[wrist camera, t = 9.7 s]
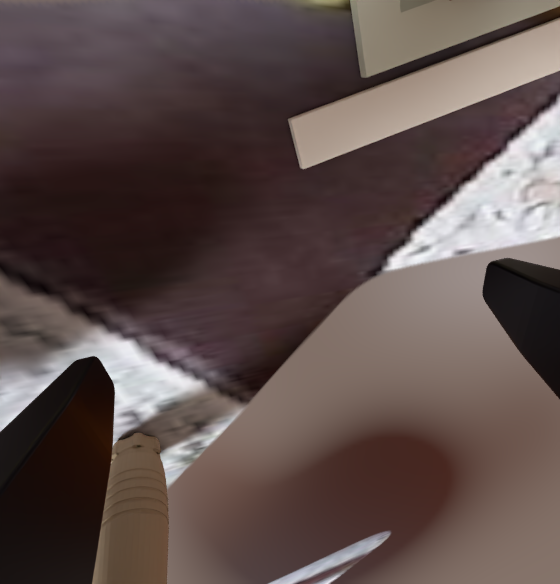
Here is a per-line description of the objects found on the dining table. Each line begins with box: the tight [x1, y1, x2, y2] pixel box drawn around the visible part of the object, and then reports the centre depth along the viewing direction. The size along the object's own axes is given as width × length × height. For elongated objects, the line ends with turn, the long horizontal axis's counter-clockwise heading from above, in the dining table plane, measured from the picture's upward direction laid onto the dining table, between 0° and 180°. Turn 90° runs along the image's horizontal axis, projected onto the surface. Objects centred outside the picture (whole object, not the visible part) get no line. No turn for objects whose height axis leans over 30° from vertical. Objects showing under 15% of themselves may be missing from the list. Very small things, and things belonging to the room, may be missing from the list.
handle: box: [92, 433, 169, 584], centre depth 20 cm, size 5×6×15 cm
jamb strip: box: [288, 18, 560, 169], centre depth 19 cm, size 16×2×1 cm, turn 106°
